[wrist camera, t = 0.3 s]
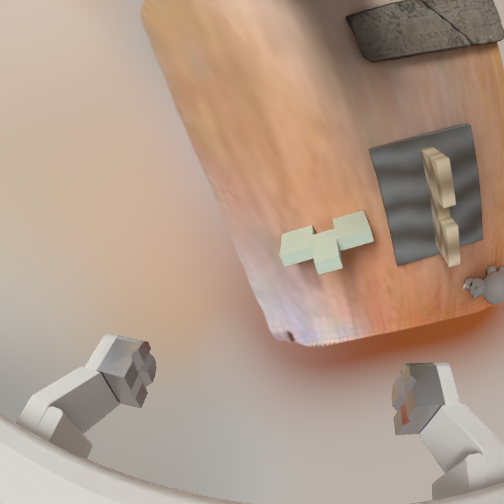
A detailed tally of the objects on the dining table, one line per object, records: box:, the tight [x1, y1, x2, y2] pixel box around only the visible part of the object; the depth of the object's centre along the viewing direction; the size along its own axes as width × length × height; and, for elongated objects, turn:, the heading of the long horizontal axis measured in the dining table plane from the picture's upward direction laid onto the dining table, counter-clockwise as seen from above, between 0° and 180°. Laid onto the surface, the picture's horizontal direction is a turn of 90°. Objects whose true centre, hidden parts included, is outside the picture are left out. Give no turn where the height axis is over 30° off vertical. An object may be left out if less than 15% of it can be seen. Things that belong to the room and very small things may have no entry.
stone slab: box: [346, 0, 504, 63], centre depth 36 cm, size 10×3×30 cm
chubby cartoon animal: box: [463, 265, 504, 304], centre depth 57 cm, size 7×12×8 cm, turn 106°
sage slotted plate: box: [280, 210, 374, 275], centre depth 54 cm, size 16×2×12 cm, turn 113°
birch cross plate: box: [369, 124, 483, 267], centre depth 49 cm, size 24×20×9 cm
